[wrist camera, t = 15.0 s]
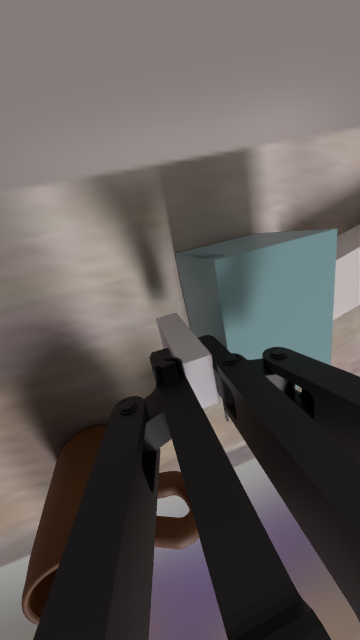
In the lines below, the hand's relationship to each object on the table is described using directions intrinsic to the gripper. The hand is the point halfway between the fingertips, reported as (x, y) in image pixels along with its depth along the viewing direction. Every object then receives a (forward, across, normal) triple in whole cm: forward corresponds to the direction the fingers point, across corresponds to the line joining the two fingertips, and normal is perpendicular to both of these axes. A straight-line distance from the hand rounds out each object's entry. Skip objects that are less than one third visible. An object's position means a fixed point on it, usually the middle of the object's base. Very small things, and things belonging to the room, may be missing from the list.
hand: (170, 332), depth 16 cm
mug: (+3, -7, -12) cm, 14 cm away
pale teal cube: (+3, +6, 0) cm, 7 cm away
